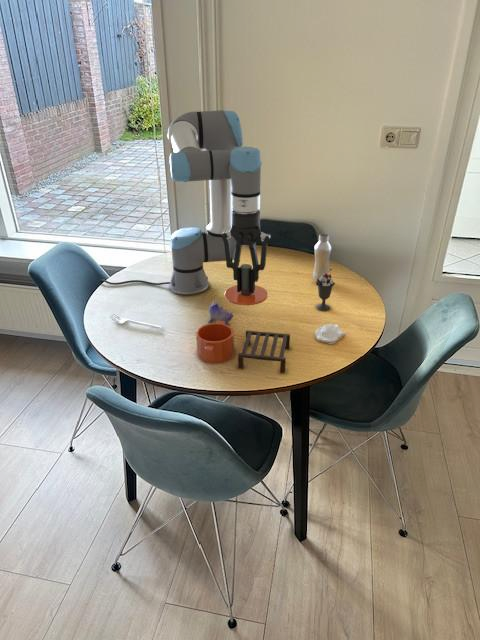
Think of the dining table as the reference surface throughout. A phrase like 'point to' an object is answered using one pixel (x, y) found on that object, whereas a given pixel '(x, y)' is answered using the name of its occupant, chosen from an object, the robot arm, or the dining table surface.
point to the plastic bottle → (321, 257)
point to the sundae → (324, 290)
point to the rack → (262, 355)
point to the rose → (329, 333)
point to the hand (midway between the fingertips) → (246, 290)
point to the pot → (215, 342)
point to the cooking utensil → (131, 321)
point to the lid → (245, 290)
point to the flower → (219, 314)
